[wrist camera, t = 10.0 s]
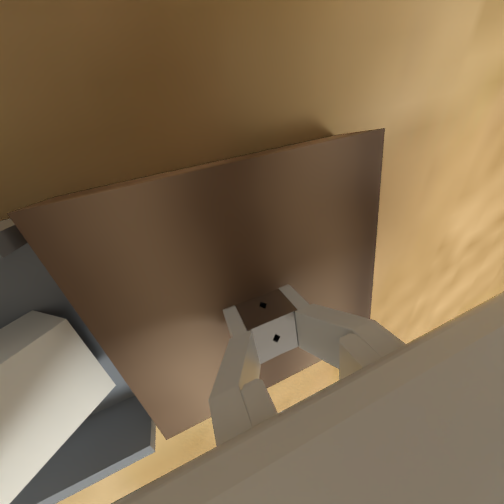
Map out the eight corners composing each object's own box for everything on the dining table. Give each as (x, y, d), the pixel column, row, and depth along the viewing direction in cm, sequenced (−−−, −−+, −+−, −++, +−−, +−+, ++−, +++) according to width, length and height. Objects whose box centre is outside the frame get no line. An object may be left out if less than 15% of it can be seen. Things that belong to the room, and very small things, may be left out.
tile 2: (32, 310, 9) (66, 318, 8) (82, 371, 11) (115, 385, 10) (-141, 412, 6) (-122, 448, 5) (-30, 475, 8) (2, 512, 7)
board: (335, 135, 12) (384, 128, 9) (337, 308, 17) (368, 335, 14) (54, 196, 8) (6, 213, 6) (165, 386, 14) (166, 439, 11)
